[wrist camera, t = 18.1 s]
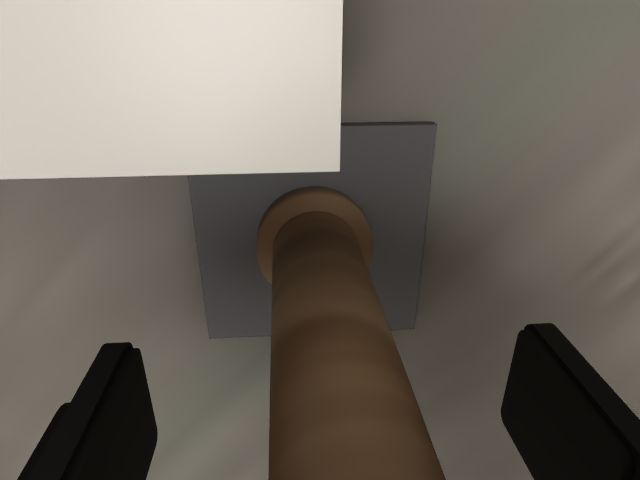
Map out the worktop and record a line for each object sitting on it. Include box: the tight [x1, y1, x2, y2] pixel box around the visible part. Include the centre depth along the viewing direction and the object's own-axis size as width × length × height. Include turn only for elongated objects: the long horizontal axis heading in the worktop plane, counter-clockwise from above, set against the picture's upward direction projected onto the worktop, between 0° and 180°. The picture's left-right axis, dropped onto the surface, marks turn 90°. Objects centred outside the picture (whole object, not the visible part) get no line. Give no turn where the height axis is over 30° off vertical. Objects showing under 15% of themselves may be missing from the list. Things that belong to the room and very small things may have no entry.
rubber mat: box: [188, 122, 437, 339], centre depth 18 cm, size 9×9×1 cm
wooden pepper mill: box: [256, 186, 446, 480], centre depth 12 cm, size 4×4×14 cm
